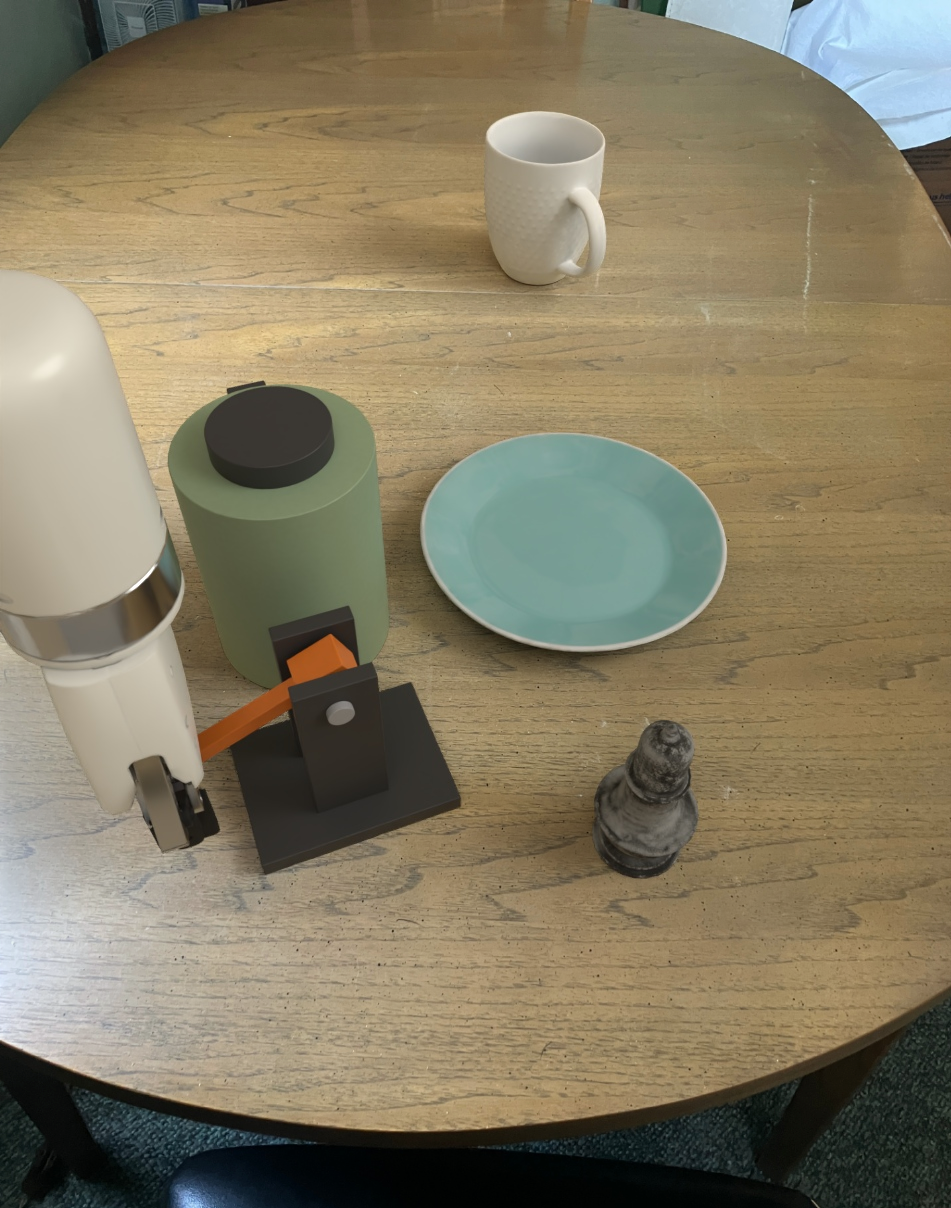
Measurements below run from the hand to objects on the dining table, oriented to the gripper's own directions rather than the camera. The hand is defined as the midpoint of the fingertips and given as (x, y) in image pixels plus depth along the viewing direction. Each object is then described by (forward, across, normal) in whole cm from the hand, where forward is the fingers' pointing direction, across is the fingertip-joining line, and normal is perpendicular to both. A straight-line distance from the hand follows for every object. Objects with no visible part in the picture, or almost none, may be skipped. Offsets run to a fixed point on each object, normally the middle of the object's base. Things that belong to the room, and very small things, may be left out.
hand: (180, 791), depth 53 cm
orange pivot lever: (-4, 0, +5) cm, 7 cm away
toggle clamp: (+4, 0, +9) cm, 10 cm away
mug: (+4, -48, +44) cm, 65 cm away
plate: (+4, -12, +30) cm, 33 cm away
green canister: (+4, -12, +10) cm, 17 cm away
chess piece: (+4, +10, +24) cm, 26 cm away
